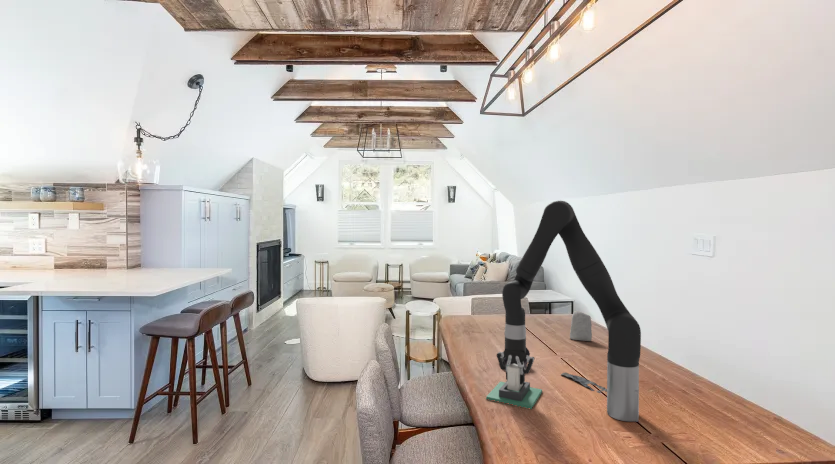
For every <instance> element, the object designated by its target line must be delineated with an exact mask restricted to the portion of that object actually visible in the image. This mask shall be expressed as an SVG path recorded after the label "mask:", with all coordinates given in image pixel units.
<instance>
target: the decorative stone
mask: <svg viewBox="0 0 835 464" xmlns="http://www.w3.org/2000/svg"><path fill="white" fill-rule="evenodd" d="M571 316H572V317H571V323H570V331H569V338H570V340H573V341H575V340H576V341H584V342H585V341H586V342H591V341H592V339H593V333H592V331H593V330H592V326H593V325H592V320H591V319H592V318H591V316H590V315H589V314H586V313H584V312H582V311H579V310H575V311H573V313H572V315H571Z"/></svg>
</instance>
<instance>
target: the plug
mask: <svg viewBox="0 0 835 464" xmlns="http://www.w3.org/2000/svg"><path fill="white" fill-rule="evenodd" d="M506 381H507V389H509V390H514V391H519V390H520V389H521V387H522V386H523V384H522V385H521V384H520V368H518V365H517V364H511V365H510V366H508V367H507V380H506Z"/></svg>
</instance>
